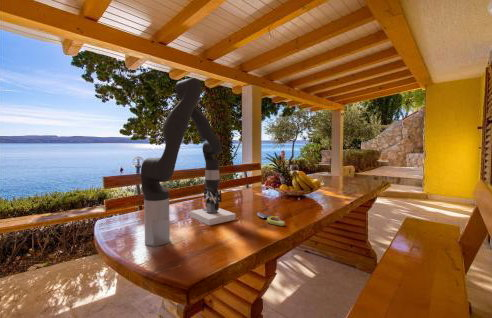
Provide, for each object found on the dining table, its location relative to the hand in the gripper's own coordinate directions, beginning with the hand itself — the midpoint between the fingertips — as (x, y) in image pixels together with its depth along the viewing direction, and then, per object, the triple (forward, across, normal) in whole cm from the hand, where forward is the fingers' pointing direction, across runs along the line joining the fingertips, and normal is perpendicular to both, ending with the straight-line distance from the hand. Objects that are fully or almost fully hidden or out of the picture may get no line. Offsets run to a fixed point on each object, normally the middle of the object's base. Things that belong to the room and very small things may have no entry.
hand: (212, 208), depth 126 cm
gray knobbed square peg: (+5, 0, 0) cm, 5 cm away
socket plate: (+5, 0, 0) cm, 5 cm away
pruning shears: (+6, +21, +22) cm, 31 cm away
